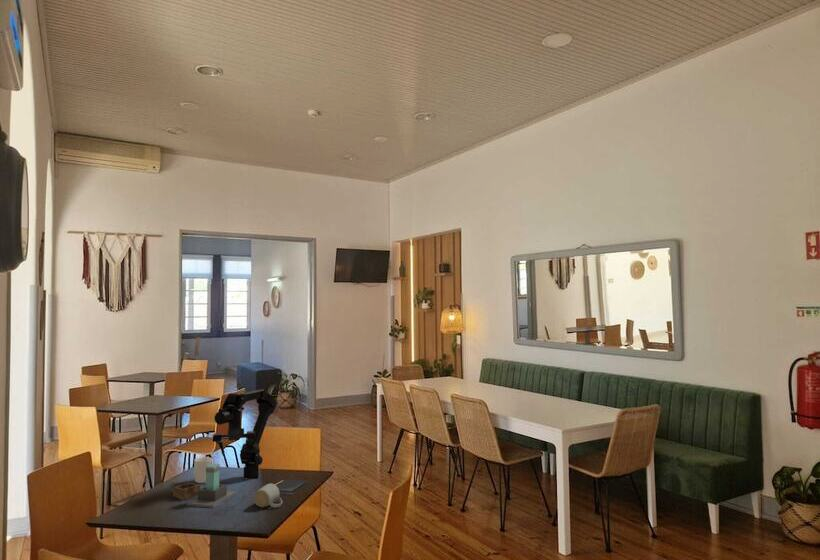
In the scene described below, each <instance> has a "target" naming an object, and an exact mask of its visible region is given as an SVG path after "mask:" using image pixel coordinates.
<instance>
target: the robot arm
mask: <svg viewBox="0 0 820 560" xmlns="http://www.w3.org/2000/svg"><path fill="white" fill-rule="evenodd" d="M254 400H256V403H257V409H258V410H257V411H258V416H257V418H256V421H255V424H254V426H253V429H252V430H250V431H249V430H248V431H246V433H245V428H244V427H243V428H242V411H243V410H246V409H245V407H244V405H245V404H246V403H247V402H251V401H254ZM277 405H278V403H277V400H276V398H275V397H274V396H273V395H272V394H270V393H268V391H267V390H265V389H259V388H258V389H255V390H251V391H246V392H242V393H241V392H240V393H239V392H238V393H236V392H233V393H232V392H230V393H228V394H227V396H226V398H225V399H224V402H223V404H222V406H221V408H218V410H217V412H216V413H215V414H214V415H215V416H214V422H215V423H216V424H217V425H221V426H222V425H225V424H227V434H223V432H214V433H213V434H212V435H213V436H212V442H213V443H215V444H218V447H219V448H220V451H221V454H222V456H223V457H225V449H224V448H225V447H224V446H225V445H224V440H228V441H229V442H230V441H239V440H240V439H245V441H244V442H245V443H243V444H242V446H241V449H240V451H239V452H240V453H239V458H240V462H241V465H244V467H243V478H244V479H245V478H251V479H257V478H256V477H260V476H259V475H260V474H259V472H260V471H259V468H260V466H261V465H262V464H263V461H264V460H263V457H262V456H261V455H260V452H261V450H260V445H259V444H260V442H261V439H262V437H263V433H264V431H265V428H266V425H267V422H268V419H269V417H270V416H271V415H273V414H274V412H275V410H276V408H277Z"/></svg>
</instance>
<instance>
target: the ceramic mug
mask: <svg viewBox="0 0 820 560" xmlns="http://www.w3.org/2000/svg"><path fill="white" fill-rule="evenodd" d="M280 496H281V495H280V493H279V489H278V487H277V486H276V485H275V484H274V483H267V484H265V485H264V486H262V487H261V488H259V489H257V491H256V492H255V494H254V496H253V497H254V498H253V500H254V503H255V505H256V506H257V507H260V508H266V507H268V506H270V507H272V508H277V507H278V508H280V507H281V506H282V505H283V500H282V498H281V497H280ZM277 501H278V502H279V503H276V502H277ZM278 508H277V509H278Z"/></svg>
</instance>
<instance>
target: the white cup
mask: <svg viewBox="0 0 820 560" xmlns="http://www.w3.org/2000/svg"><path fill="white" fill-rule="evenodd" d="M193 463H194V464H193V465H194V466H193V467H194V483H196V482H197V483H198V484H204V483H203V482H205V483H206V467H207V466H209V465H211V464H213V458H212V457H209V456H206V457H205V456H204V457H197V458H194V459H193ZM197 483H196V484H197Z"/></svg>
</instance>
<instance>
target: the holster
mask: <svg viewBox="0 0 820 560" xmlns="http://www.w3.org/2000/svg"><path fill="white" fill-rule="evenodd" d="M172 489H173V490H172V497H174V498H177V499H180V500H182V501H183V500H186V499H190V498H193V497H196V496H197V497H198V490H199V489H201V485H200V484H197V483H195V482H187V483H184V484H180V485H175V486H173V488H172Z"/></svg>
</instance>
